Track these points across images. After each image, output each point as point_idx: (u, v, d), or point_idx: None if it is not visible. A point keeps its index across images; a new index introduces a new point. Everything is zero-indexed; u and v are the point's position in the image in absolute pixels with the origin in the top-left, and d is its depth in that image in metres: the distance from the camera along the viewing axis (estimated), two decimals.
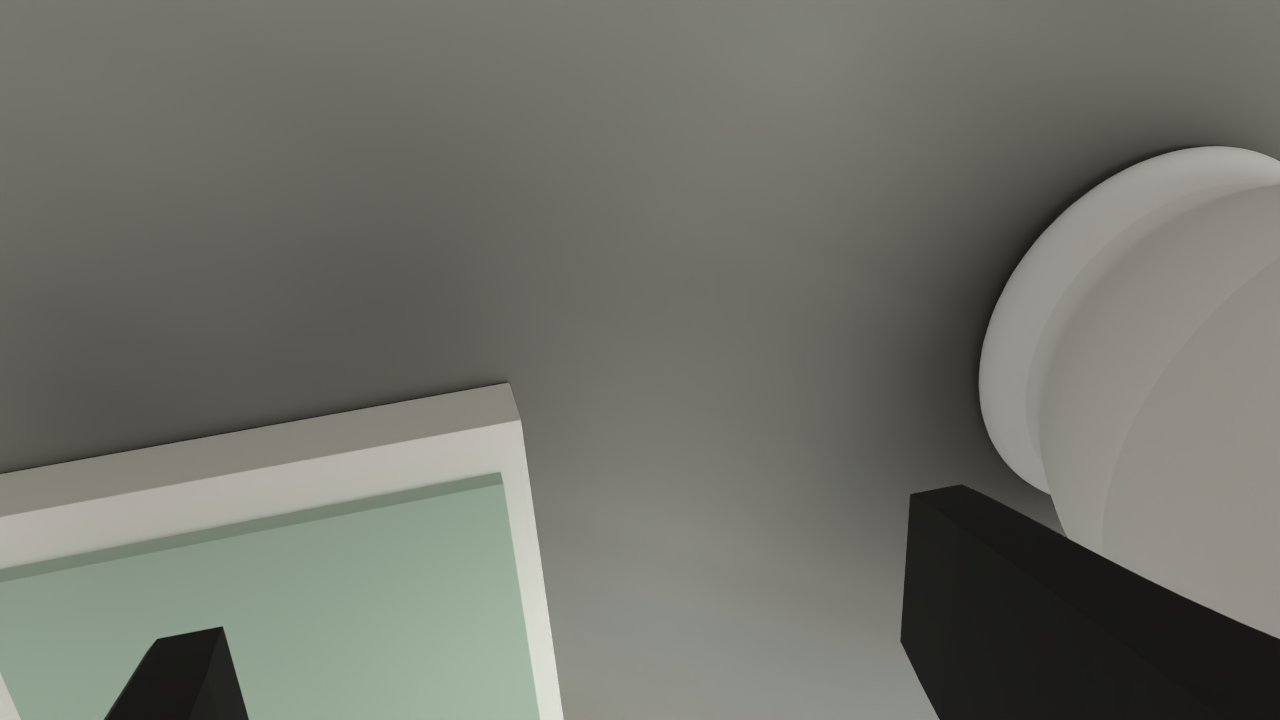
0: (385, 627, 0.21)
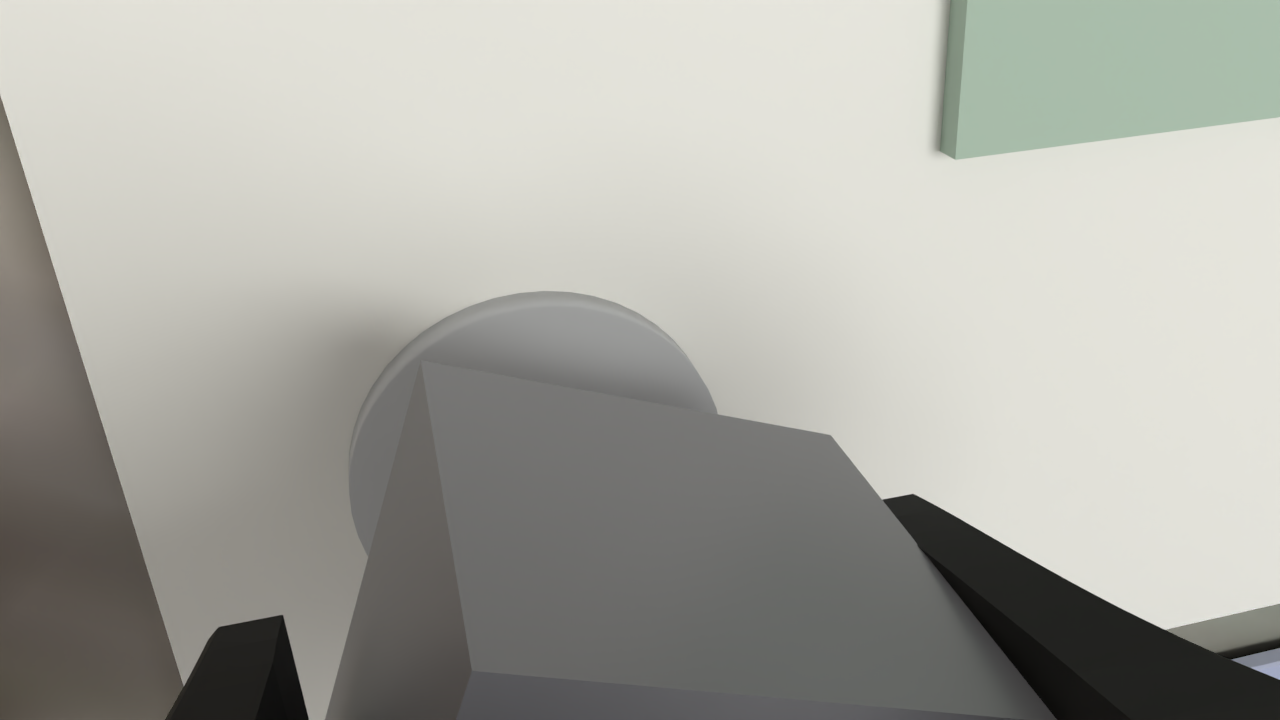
0: None
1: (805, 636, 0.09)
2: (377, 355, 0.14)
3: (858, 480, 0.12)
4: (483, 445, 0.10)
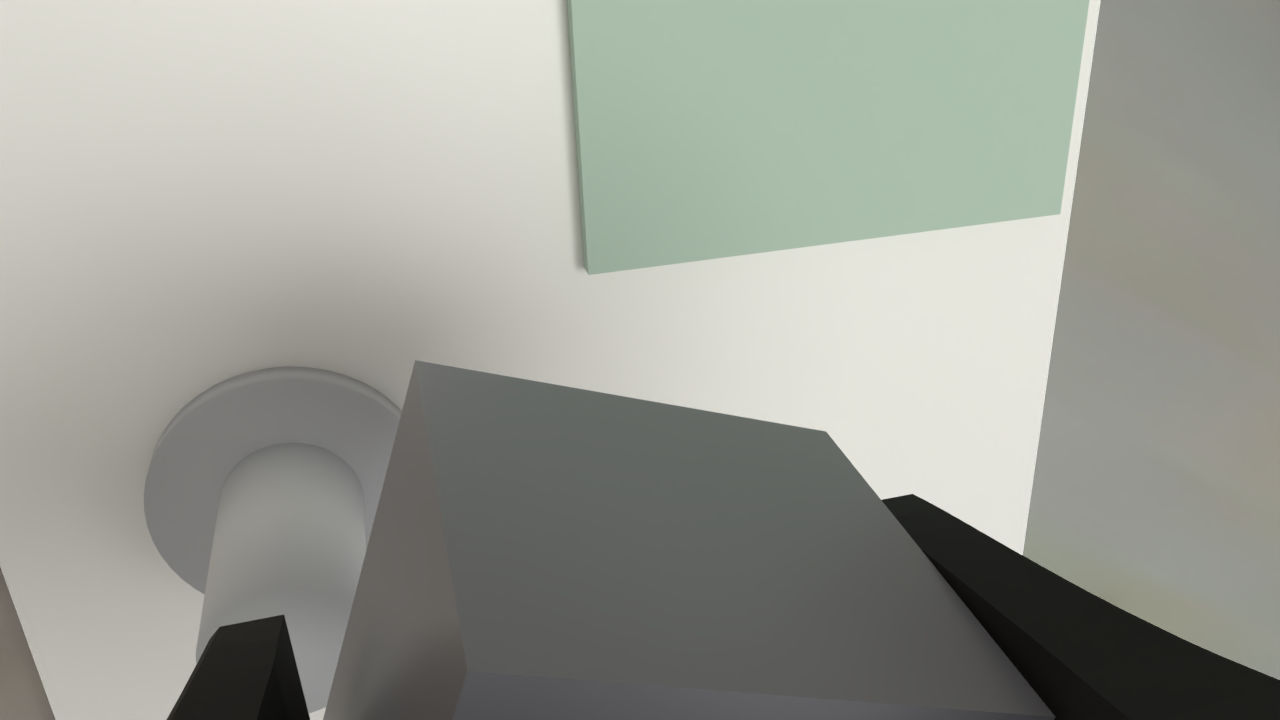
0: None
1: (801, 633, 0.09)
2: (164, 411, 0.19)
3: (853, 476, 0.12)
4: (480, 445, 0.10)
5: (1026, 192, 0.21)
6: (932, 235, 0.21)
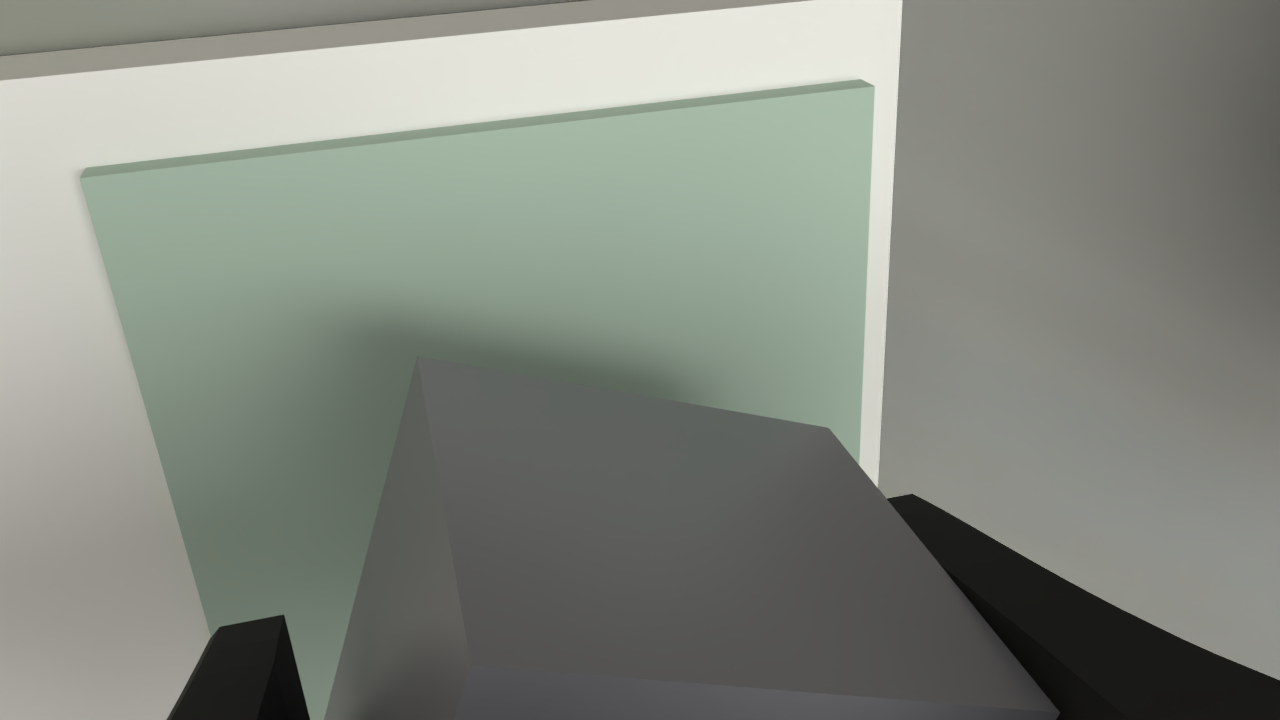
0: (678, 313, 0.14)
1: (805, 628, 0.09)
2: None
3: (856, 472, 0.12)
4: (481, 442, 0.10)
5: None
6: None
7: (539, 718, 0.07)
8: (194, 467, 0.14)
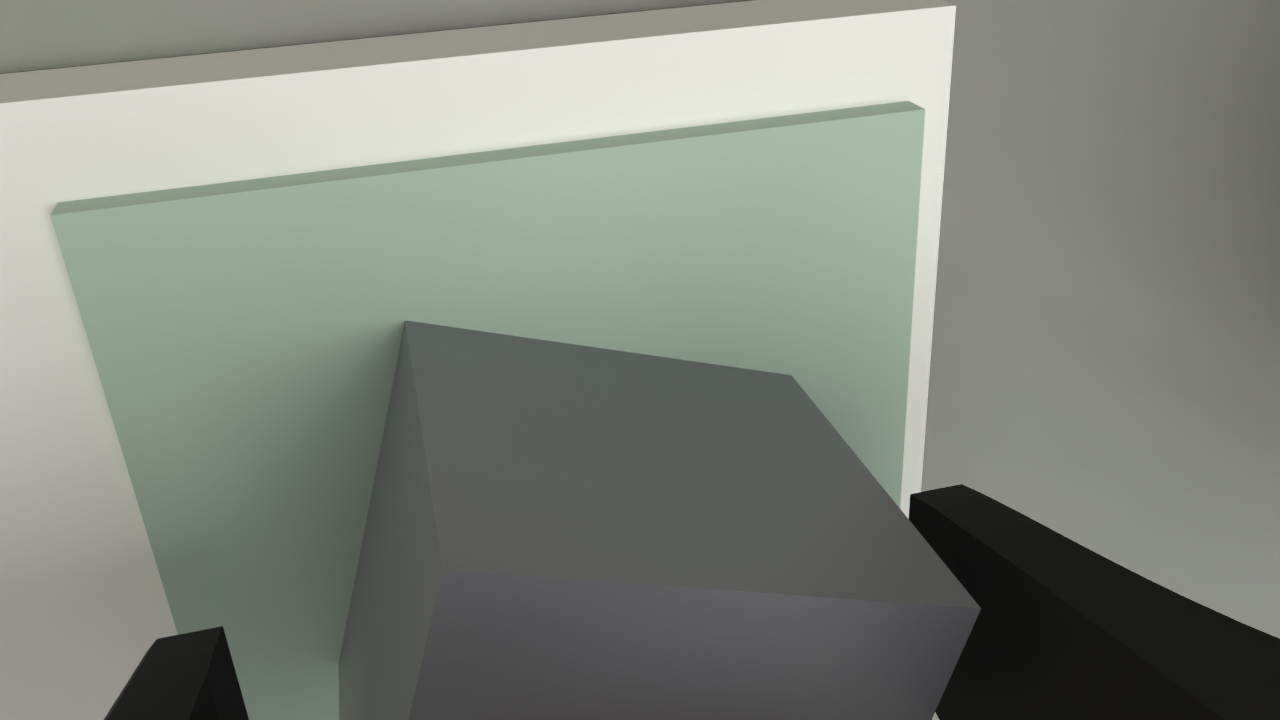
0: (708, 356, 0.13)
1: (749, 541, 0.10)
2: None
3: (814, 413, 0.13)
4: (461, 391, 0.11)
5: None
6: None
7: (506, 617, 0.08)
8: (180, 526, 0.12)
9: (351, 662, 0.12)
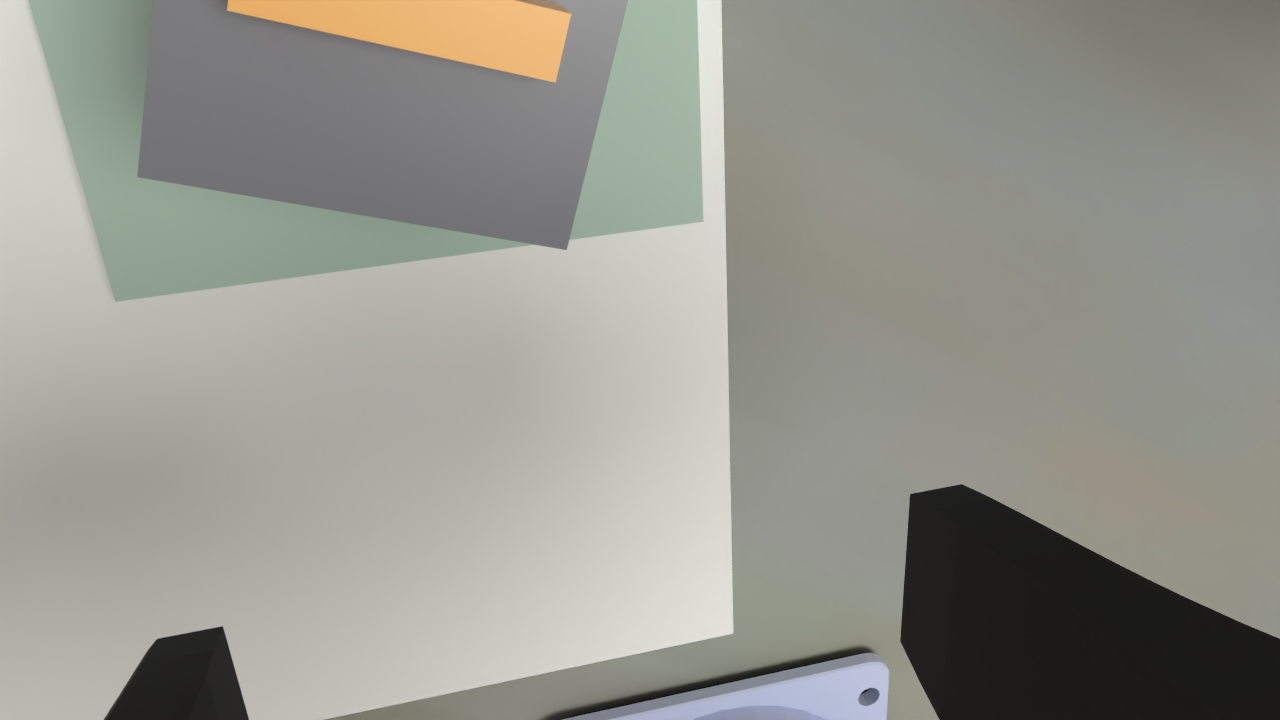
0: None
1: None
2: None
3: None
4: None
5: (655, 197, 0.18)
6: (556, 248, 0.18)
7: None
8: None
9: None
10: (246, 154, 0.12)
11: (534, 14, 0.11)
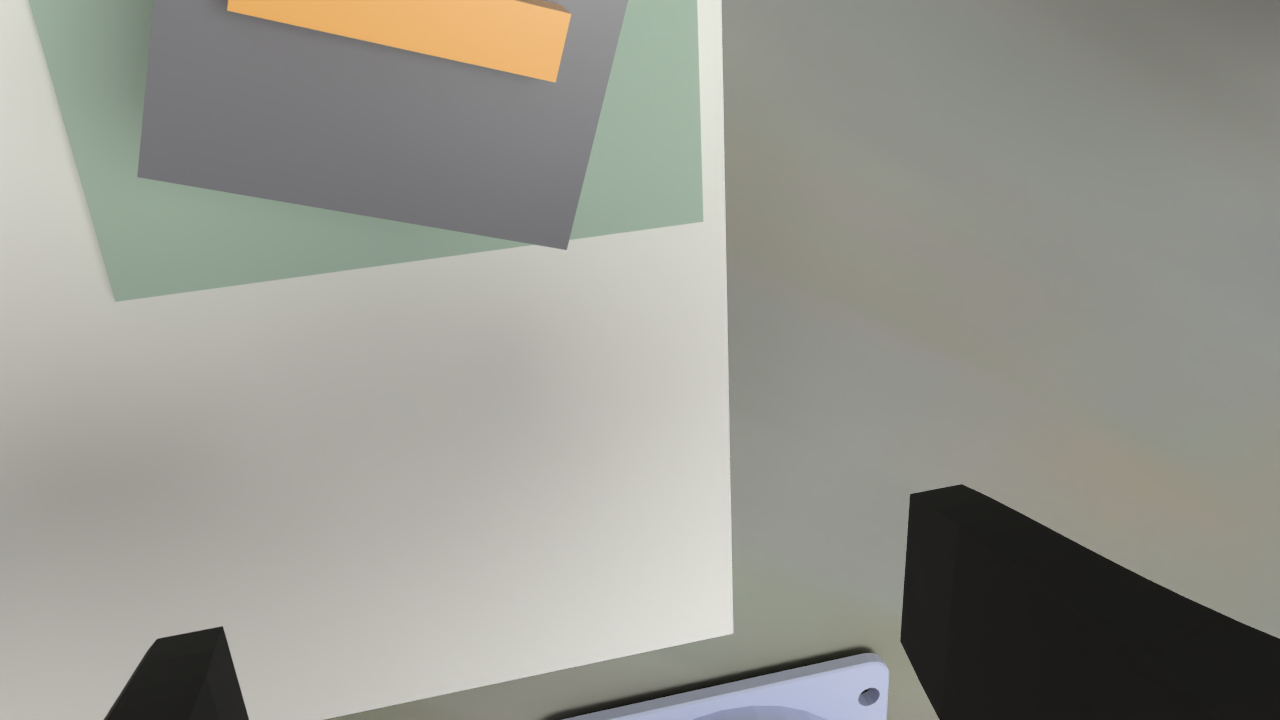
0: None
1: None
2: None
3: None
4: None
5: (655, 197, 0.18)
6: (556, 248, 0.18)
7: None
8: None
9: None
10: (246, 154, 0.12)
11: (534, 14, 0.11)
